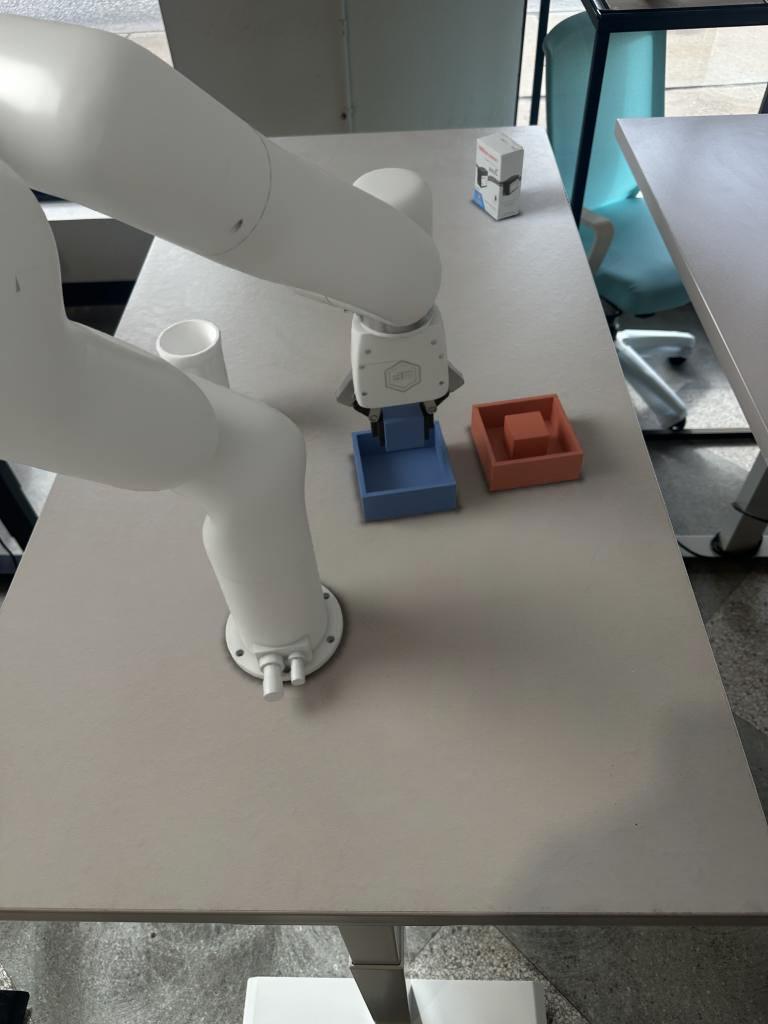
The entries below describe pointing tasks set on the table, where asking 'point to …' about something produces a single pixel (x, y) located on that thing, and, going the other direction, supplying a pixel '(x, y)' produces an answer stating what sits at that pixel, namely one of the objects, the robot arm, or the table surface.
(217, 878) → the table surface
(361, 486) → the blue bin
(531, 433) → the terracotta block
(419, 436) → the blue block
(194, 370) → the cup
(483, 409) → the terracotta bin
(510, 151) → the ink box
